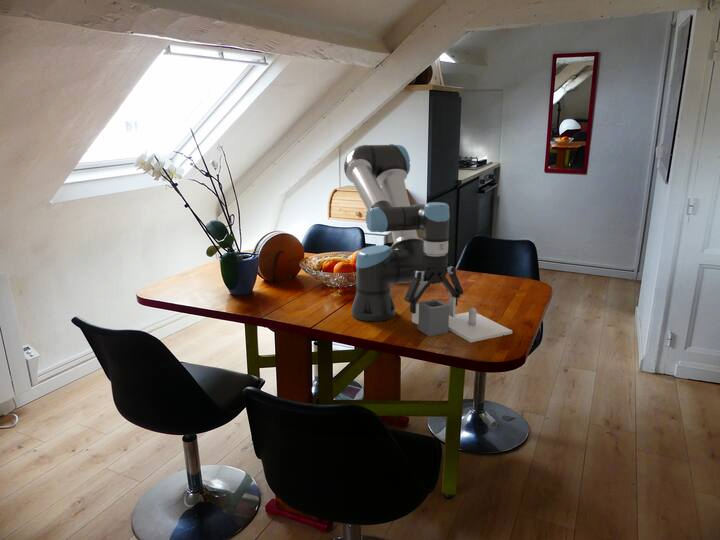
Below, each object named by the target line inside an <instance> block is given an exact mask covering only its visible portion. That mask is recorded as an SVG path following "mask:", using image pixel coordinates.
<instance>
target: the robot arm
mask: <svg viewBox="0 0 720 540" xmlns="http://www.w3.org/2000/svg"><path fill="white" fill-rule="evenodd" d="M410 159H411V158H410V156H409V152H408V151H407V149H406V148H405V147H404V146H403V145H400V144H395V143H391V144H363V145H358V146H357V147H355V148H353V149H352V150H351V151H350V152H349V153H348V154H347V156H346V158H345V159H344V164H343V170H344V174H345V177H346V178H347V180H348V181H349V182H350V183H353V185H354V187H355V189H356V190H357V192H358V195H359V197H360V199H361V200H362V203H363V204H364V206H365V208H366V209H367V211H366V213H365V224H366V228H367V230H368V231H369V232H371V233H385V232H386V233H387V232H391V235H392V240H393V243H394V244H393V245H392V246H391V248H390V247H389V246H386V245H384V244H381V245H379V244H377V245H369V246H367V247H363V248H362V249H360V250H359V251H358V252H357V254H356V260H355V261H356V262H355V269H356V271H355V273H356V278H355V279H356V280H355V281H356V291H355V292H356V293H355V296H354V300H353V302H352V306H351V316H352V317H353V318H354V319H356V320H360V321H364V322H365V321H366V322H383V321H388V320H391V319H392V318H394V317H395V316H396V306H395V303H394V299H393V297H392V294H391V293H392V292H391V285H393V284H407V283H410V285H409V288H408V289H407V292H406V294H405V296H404V298H403V299H404V301H405V302H407V303H409V312H410V313H411V322H412V323H414V324H416V325H418V324H419V303H418V302H419V300H420V298H422V296H423V294H424V293H425V292H426V290H427V289H428V287H430V286H431V285H435V284H441V283H442V285H443V287H445V288H446V291H448V292H449V293H450V295H448V305H449V316H451V317H455V314H456V307H457V306H458V301H459V300H458V298H460V297H461V295H463V294H464V290H463V288H462V286H461V283H460V280H459V278H458V276H457V271H456V267H454V266H452V265H449V266H448V263H449V262H448V261H449V255H448V253H449V232H450V231H449V230H450V217H451V215H450V206H449V204H448V203H446V202H440V201H439V202H437V201H435V202H434V201H433V202H428V203H425V204H422V203H421V204H419V203H417V204H413V205H411V204H410V199H409V196H408V191H407V186H406V183H405V182H406V179H407V178H408V175H409V173H410V171H411V160H410ZM417 230H422V231H423V239H422V238H419V236H418V233H417V232H418V231H417ZM447 274H448V277H449V278H450V281H451V283H452V284H451V283H450V281H449V279H448V278H447V277H446V276H447Z"/></svg>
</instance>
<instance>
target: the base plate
mask: <svg viewBox="0 0 720 540" xmlns="http://www.w3.org/2000/svg"><path fill="white" fill-rule="evenodd" d="M448 331H450V332H451V333H453V334H455V335H457V336H459V337H460V338H462V339H464V340H465V341H467V342H468V343H470V344H471V343H475V342H479V341H483V340H484V341H485V340H490V339H494V338H499V337H503V335H504V336H508V335H512V334H513V330H512V329H510V328H508V327H506V326H504V325H501V324H499V323H498V322H496V321H493V320H492V319H490V318H488V317H486V316H483V315H481V314H480V313H479V312H478V311H477V309H476V308H475V307H471V308H469V309H468V311H467V312H461V313H457V314H456V313H455V317H451V316H449V327H448Z"/></svg>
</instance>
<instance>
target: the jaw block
mask: <svg viewBox="0 0 720 540" xmlns="http://www.w3.org/2000/svg"><path fill="white" fill-rule="evenodd" d="M417 303H419V324H417V330H419V331H420V332H422V333H423V334H425V335H426V336H428V337H433V336H440V335H444V334H447V333H449V330H448V327H449V304H447V303H445V302H443V301H441V300H439V299H430V300H423V301H417Z"/></svg>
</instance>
